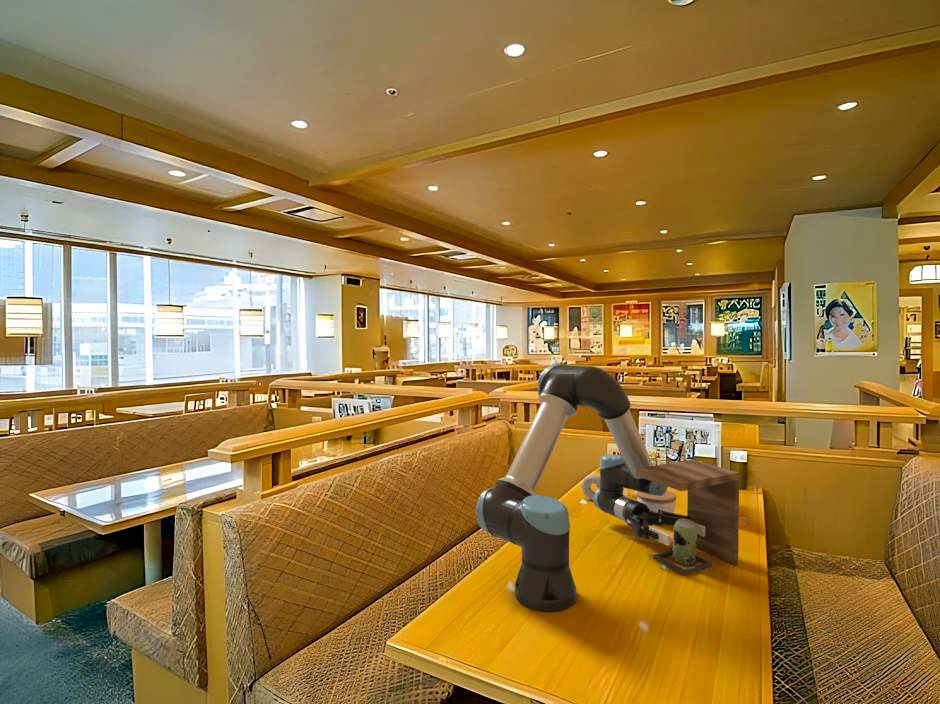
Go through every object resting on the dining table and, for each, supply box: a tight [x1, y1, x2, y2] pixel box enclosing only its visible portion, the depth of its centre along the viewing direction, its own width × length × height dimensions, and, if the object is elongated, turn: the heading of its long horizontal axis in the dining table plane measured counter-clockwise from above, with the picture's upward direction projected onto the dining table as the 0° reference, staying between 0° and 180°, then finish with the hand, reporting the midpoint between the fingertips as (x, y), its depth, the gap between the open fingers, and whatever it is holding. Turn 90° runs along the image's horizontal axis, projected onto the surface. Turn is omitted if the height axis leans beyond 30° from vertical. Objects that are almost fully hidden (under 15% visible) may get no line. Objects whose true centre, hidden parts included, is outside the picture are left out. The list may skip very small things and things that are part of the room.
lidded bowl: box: [636, 489, 677, 522], centre depth 175 cm, size 13×13×11 cm
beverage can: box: [672, 519, 697, 566], centre depth 143 cm, size 6×7×12 cm
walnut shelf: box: [636, 459, 740, 567], centre depth 143 cm, size 22×16×26 cm
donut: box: [581, 474, 600, 501], centre depth 195 cm, size 10×4×10 cm, turn 52°
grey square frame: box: [652, 549, 714, 576], centre depth 143 cm, size 11×11×1 cm
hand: (687, 536), depth 141 cm, fingers open, 13 cm apart
